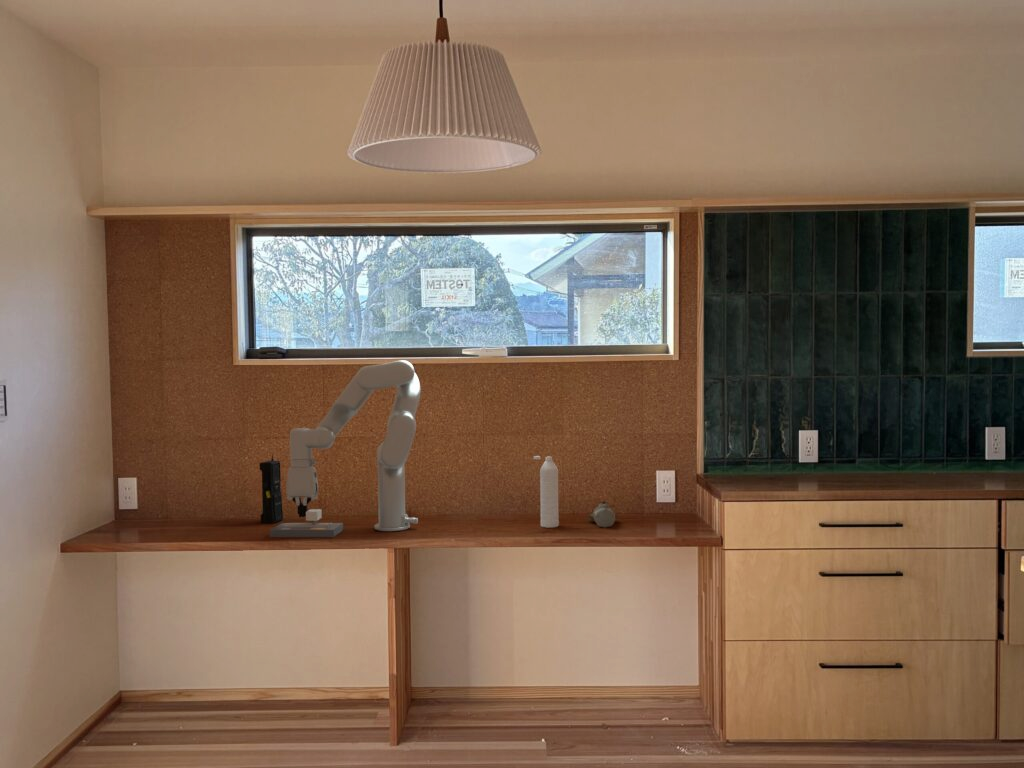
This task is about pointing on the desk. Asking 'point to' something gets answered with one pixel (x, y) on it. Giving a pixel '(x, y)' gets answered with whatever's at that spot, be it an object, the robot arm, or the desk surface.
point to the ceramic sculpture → (603, 515)
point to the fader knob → (313, 515)
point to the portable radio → (271, 492)
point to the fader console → (306, 530)
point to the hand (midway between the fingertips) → (302, 516)
